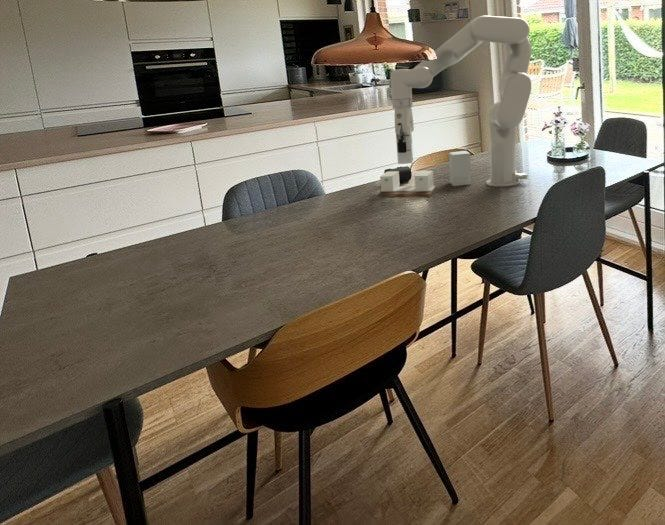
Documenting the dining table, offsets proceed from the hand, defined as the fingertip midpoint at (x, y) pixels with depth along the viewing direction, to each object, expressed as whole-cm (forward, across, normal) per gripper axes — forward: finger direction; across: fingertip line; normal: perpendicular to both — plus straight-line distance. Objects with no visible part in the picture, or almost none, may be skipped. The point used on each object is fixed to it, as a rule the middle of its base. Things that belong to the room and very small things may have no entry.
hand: (404, 150), depth 220 cm
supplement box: (+17, +15, -18) cm, 29 cm away
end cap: (+17, +17, +9) cm, 26 cm away
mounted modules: (+15, 0, 0) cm, 15 cm away
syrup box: (+5, 0, 0) cm, 5 cm away
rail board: (+17, 0, 0) cm, 17 cm away
